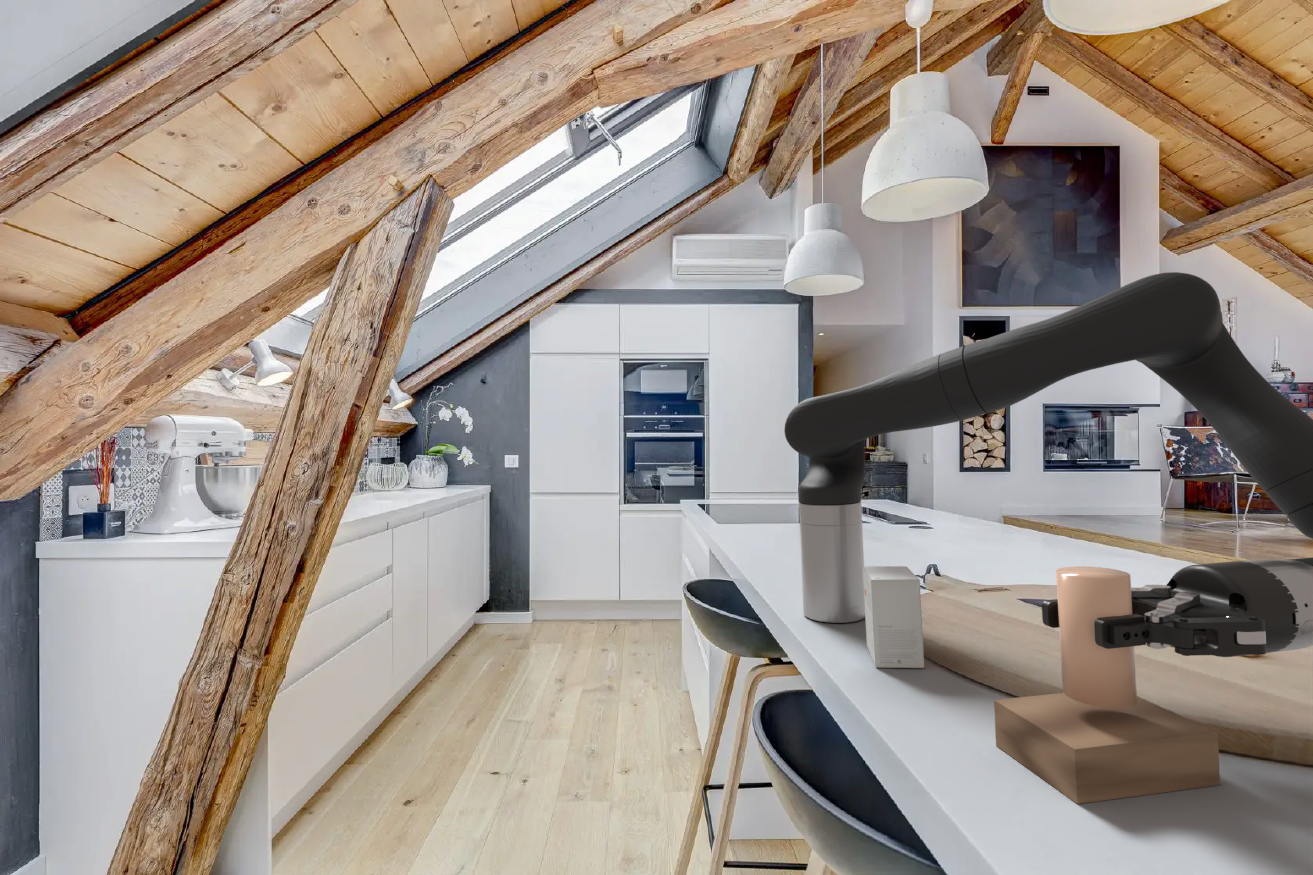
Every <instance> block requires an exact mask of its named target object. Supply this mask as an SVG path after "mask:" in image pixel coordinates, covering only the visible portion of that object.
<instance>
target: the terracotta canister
mask: <svg viewBox="0 0 1313 875" xmlns="http://www.w3.org/2000/svg"><path fill="white" fill-rule="evenodd" d="M1055 574H1056V591H1057V592H1056V594H1057V599H1058V615H1059V627H1058V630H1059V633H1058V634H1059V648H1060V649H1059V650H1060V651H1059V652H1060V666H1061V684H1062V685H1061V686H1062V693H1064V694H1065V695H1066V696H1068V697H1069V698H1071V699H1073V700H1076V701H1078V702H1081V703H1084V704H1088V705H1092V706H1097V707H1104V708H1128V707H1132V706H1134V705H1136V704H1137V696H1138V693H1137V676H1136V675H1137V673H1136V672H1137V670H1136V656H1135V654H1136V653H1135V652H1136V651H1135V646H1131V647H1121V648H1112V649H1106V648H1104V647H1101V646H1098V645H1097V644H1096V642H1095V629H1094V622H1095V620H1096V619H1097V618H1101V617H1111V616H1123V615H1132V596H1131V588H1132V581H1131V579H1132V578H1131V574H1130V573H1129V572H1126V571H1123V570H1120V569H1119V570H1118V569H1115V568H1109V567H1100V566H1099V567H1097V566H1082V565H1081V566H1077V565H1076V566H1064V567H1059V568H1057V569H1056V570H1055Z"/></svg>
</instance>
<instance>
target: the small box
mask: <svg viewBox="0 0 1313 875" xmlns="http://www.w3.org/2000/svg"><path fill="white" fill-rule="evenodd" d="M920 581H921V580H920V578H919V577H917V576H916V575H915V573H913V571H912V570H911V568H909V567H908V566H904V565H903V566H901V565H900V566H899V565H898V566H897V565H896V566H895V565H893V566H887V565H886V566H885V565H884V566H881V565H880V566H878V565H877V566H876V565H875V566H874V565H873V566H864V567H863V582H864V600H865V618H864V619H865V635H866V636H865V638H866V648H867V649H868V651H869V654H870V657H871V659H872V661H873V664H874V666H875V668H876V669H877V668H878V669H879V668H884V669H885V668H890V669H891V668H893V669H894V668H895V669H896V668H897V669H925V656H924V654H925V653H924V633H923V632H924V631H923V618H922V600H921V582H920Z"/></svg>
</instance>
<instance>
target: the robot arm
mask: <svg viewBox="0 0 1313 875" xmlns="http://www.w3.org/2000/svg"><path fill="white" fill-rule="evenodd" d="M1221 307H1222V306H1221V302H1220V299H1219V296H1218V292H1217V291H1216V290H1215V288H1214V287H1213V286H1212V284H1210V282H1208V281H1206V280H1205V279H1203V278H1201V277H1199V276H1197V275H1194V274H1191V273H1185V272H1178V271H1177V272H1176V271H1174V272H1162V273H1156V274H1152V275H1148V276H1145V277H1143V278H1140V279H1137V280H1135V281H1133V282H1130V283H1127V284H1125V285H1123V286H1121V287H1119V288H1117V289H1115V290H1112V291H1110V292H1107V293H1106V294H1103V295H1101V296H1099V297H1096V298H1095V299H1092V300H1090V301H1088V302H1086V303H1083V304H1081V305H1079V306H1077V307H1075V308H1073V309H1070V310H1067V311H1065V312H1063V313H1060V314H1058V315H1057V314H1056V315H1055V316H1052V317H1050V318H1046V319H1044V320H1041V321H1038V322H1034V323H1030V324H1028V325H1024V326H1021V327H1020V326H1019V327H1018V328H1015V329H1011V330H1008V331H1006V332H1003V333H1002V332H1001V333H999V334H997V335H994V336H990V337H988V338H985V339H981V340H978V341H975V342H972V343H969V344H965V345H963V346H960V347H957V348H955V349H952V350H948V351H945V352H943V353H939V354H937V355H935V356H934V355H933V356H932V357H930V358H927V359H925V360H922V361H920V362H917V363H915V364H911V365H909V366H907V367H904V368H902V369H899V370H897V371H894V372H892V373H889V374H888V375H885V376H883V377H880V378H879V379H877V380H874V381H872V382H869V383H866V384H863V385H859V386H856V387H851V388H849V389H844V390H840V391H837V392H836V391H835V392H832V393H827V394H822V395H818V396H814V397H809V398H806V399H804V400H802V401H800V402H799V403H797V404H796V406H794V407H793V409H791V411H790V412H789V413H788V415H787V417H786V420H785V423H784V436H785V439H786V442H787V443H788V445H789V446H790V448H792V449H793V450H794V451H795V452H796V453H798V454H800V455H802V456H804V457H806V458H807V457H808V469H807V473H806V476H804V478H803V480H802V481H801V483H800V484H799V485H798V490H797V493H798V512H799V514H798V515H799V516H798V517H799V533H800V534H799V536H800V537H799V538H800V558H801V559H800V560H801V580H802V606H803V615H804V616H805V617H806V618H808V619H810V620H814V621H818V622H822V623H823V622H824V623H834V624H835V623H840V624H841V623H843V624H844V623H854V622H858V621H860V620H861V621H862V620H863V619H865V600H864V582H863V567H865V556H864V535H863V534H864V532H863V518H862V517H863V516H862V515H863V513H862V488H863V486H864V483H865V476H866V442H865V441H866V440H867V439H870V438H873V437H876V436H881V435H884V434H889V433H894V432H903V431H911V430H919V429H925V428H933V427H937V426H943V425H947V424H954V423H958V422H962V421H964V420H969V419H973V418H977V417H979V416H983V415H987V414H991V413H994V412H997V411H1001V410H1003V409H1005V408H1008V407H1010V406H1013V405H1016V404H1017V403H1019V402H1021V401H1023V400H1026V399H1028V398H1029V397H1032V396H1033V395H1035V394H1037V393H1039V392H1040V391H1043V390H1044V389H1046V388H1048V387H1049V386H1051V385H1054V384H1055V383H1057V382H1059V381H1062V380H1064V379H1066V378H1070V377H1071V376H1074V375H1078V374H1082V373H1084V372H1088V371H1091V370H1092V371H1093V370H1097V369H1100V368H1104V367H1108V366H1112V365H1116V364H1117V365H1118V364H1122V363H1126V362H1130V361H1131V362H1132V361H1136V362H1139V363H1141V364H1142V365H1144V366H1145V367H1146V368H1147V369H1149V370H1150V371H1152V372H1153V373H1154V374H1156V375H1157V376H1158V377H1159V378H1160V379H1161V380H1163V381H1164V382H1166V383H1167V384H1169V386H1170V387H1172V388H1173V389H1174V390H1176V391H1177V393H1179V394H1180V395H1181V397H1183V398H1184V399H1185V400H1186V401H1187V402H1188V403H1189V404H1191V405H1192V406H1193V408H1195V410H1196V411H1198V412H1199V414H1200V415H1201V416H1202V417H1203V418H1204V419H1205V420H1206V421H1207V423H1208V424H1209V425H1210V426H1211V427H1212V428H1213V429H1214V431H1215V432H1216V433H1217V435H1218V437H1220V438H1221V439H1222V441H1223V443H1224V444H1225V445H1226V446H1227V447H1228V448H1229V450H1230V451H1231V453H1232V454H1233V455H1234V456H1235V458H1236V460H1238V462H1239V463H1240V465H1241V466H1242V467H1243V468H1244V469H1245V471H1246V472H1247V473H1248V474H1249V476H1250V477H1251V478H1252V479H1253V480H1254V482H1256V484H1257V485H1258V486H1259V487H1260V489H1261V490H1262V491H1263V492H1264V493H1265V495H1267V496H1268V497H1269V499H1270V500H1271V501H1272V503H1274V504H1275V506H1276V507H1277V508H1278V509H1279V510H1280V511H1281V512H1282V513H1283V515H1284V516H1286V518H1287V519H1288V520H1289V522H1290V523H1291V524H1292V525H1293V526H1294V527H1295V528H1296V529H1297V530H1298V531H1299V532H1300V533H1301V534H1303V535H1304V536H1305V537H1308V538H1309V539H1312V540H1313V418H1312V417H1311V416H1309V415H1308V414H1307V413H1306V412H1305V411H1303V409H1301V408H1299V407H1298V406H1297V405H1296V404H1294V402H1292V401H1291V400H1290V399H1288V398H1287V397H1286V396H1285V395H1283V394H1282V393H1281V392H1280V391H1278V390H1277V389H1276V388H1275V387H1274V386H1272V384H1271V383H1269V381H1268V380H1267V379H1266V378H1265V377H1263V375H1262V374H1261V373H1260V372H1259V371H1258V370H1257V369H1256V368H1255V367H1254V366H1253V365H1252V363H1251V362H1250V361H1249V360H1248V358H1247V357H1246V356H1245V355H1244V353H1243V352H1242V351H1241V349H1240V347H1239V346H1238V344H1237V343H1236V341H1235V340H1234V338H1233V337H1232V335H1231V334H1230V332H1229V331H1228V329H1227V327H1226V326H1225V324H1224V323H1223V322H1224V319H1223V312H1222V308H1221ZM1131 596H1132V615H1123V616H1111V617H1101V618H1097V619H1096V620H1095V622H1094V629H1095V642H1096V644H1097V645H1098V646H1101V647H1104V648H1106V649H1112V648H1121V647H1131V646H1134V647H1137V646H1138V647H1139V646H1147V647H1148V648H1152V649H1154V650H1155V649H1156V650H1162V649H1166V648H1172V649H1174V652H1175V653H1176V654H1178V655H1181V656H1184V657H1189V656H1214V657H1221V658H1233V657H1241V656H1261V655H1262V656H1263V655H1266V654H1268V653H1269V654H1270V653H1271V654H1272V653H1277V652H1289V651H1296V650H1302V649H1306V648H1310V647H1313V557H1304V558H1303V557H1302V558H1292V559H1275V558H1259V559H1256V558H1255V559H1247V560H1236V561H1235V560H1234V561H1223V562H1222V561H1221V562H1213V563H1201V564H1199V563H1198V564H1192V565H1188V566H1185V567H1182V568H1181V569H1179V570H1177V571H1176V572H1175V573H1174V574H1173V576H1172V577H1171V578H1170V580H1169V581H1168V582H1167V583H1166V584H1145V585H1144V586H1142V587H1131ZM1041 617H1042V624H1043V625H1044V626H1046V627H1049V628H1053V629H1055V628H1058V629H1059V615H1058V598H1055V599H1054V598H1053V599H1045V600H1043V602H1042V603H1041Z"/></svg>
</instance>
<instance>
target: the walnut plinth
mask: <svg viewBox="0 0 1313 875" xmlns="http://www.w3.org/2000/svg"><path fill="white" fill-rule="evenodd" d="M993 707H994V728H995V730H994V731H995V746H996V748H999V749H1000V750H1001V751H1002V752H1004V753H1005V754H1007V755H1008V756H1010V757H1011V758H1013V760H1015V761H1016V762H1018V764H1021V765H1022V766H1023V767H1024V768H1026V769H1028V770H1029V771H1030V772H1032V773H1033V774H1035V775H1036V776H1037V777H1039V778H1040V779H1042V780H1043V781H1044V782H1046V783H1047V784H1049V785H1050V786H1051V787H1053V788H1054V789H1055V790H1057V791H1058V792H1060V793H1061V794H1063V795H1064V796H1066V797H1067V798H1069V799H1070V800H1071V801H1073V803H1076V805H1079V804H1086V803H1093V802H1103V801H1108V800H1109V801H1110V800H1117V799H1123V798H1124V799H1125V798H1132V797H1140V796H1147V795H1154V794H1162V793H1164V794H1165V793H1170V792H1178V791H1186V790H1193V789H1199V788H1202V789H1203V788H1207V787H1216V786H1221V774H1220V773H1221V772H1220V755H1219V754H1220V752H1219V751H1220V750H1219V731H1215V730H1213V729H1211V728H1209V727H1207V726H1205V725H1203V724H1201V723H1197V722H1196V721H1193V720H1192V719H1189V718H1187V717H1185V716H1182V715H1180V714H1179V713H1176V712H1174V711H1171V710H1170V709H1168V708H1167V709H1166V707H1165V708H1164V707H1163V706H1160V705H1158V704H1156V703H1154V702H1152V701H1149V700H1147V699H1144V698H1142V697H1140V696H1138V695H1137V704H1136V705H1134V706H1132V707H1128V708H1104V707H1097V706H1092V705H1088V704H1084V703H1081V702H1078V701H1076V700H1073V699H1071V698H1069V697H1068V696H1066V695H1065V694H1064V693H1063V692H1057V693H1048V694H1041V695H1039V694H1038V695H1028V696H1020V697H1012V698H1001V699H994V700H993Z"/></svg>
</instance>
